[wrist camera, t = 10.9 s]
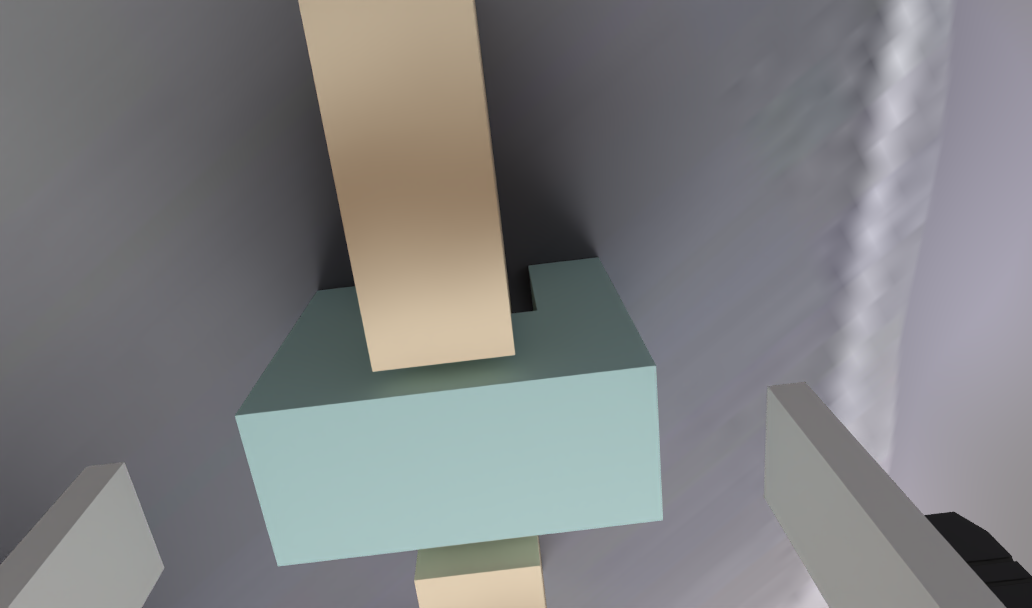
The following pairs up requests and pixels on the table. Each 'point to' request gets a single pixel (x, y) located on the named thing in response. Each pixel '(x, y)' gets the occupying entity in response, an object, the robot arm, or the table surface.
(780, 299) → the table surface
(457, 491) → the cross piece
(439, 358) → the light wooden block
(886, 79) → the table surface
